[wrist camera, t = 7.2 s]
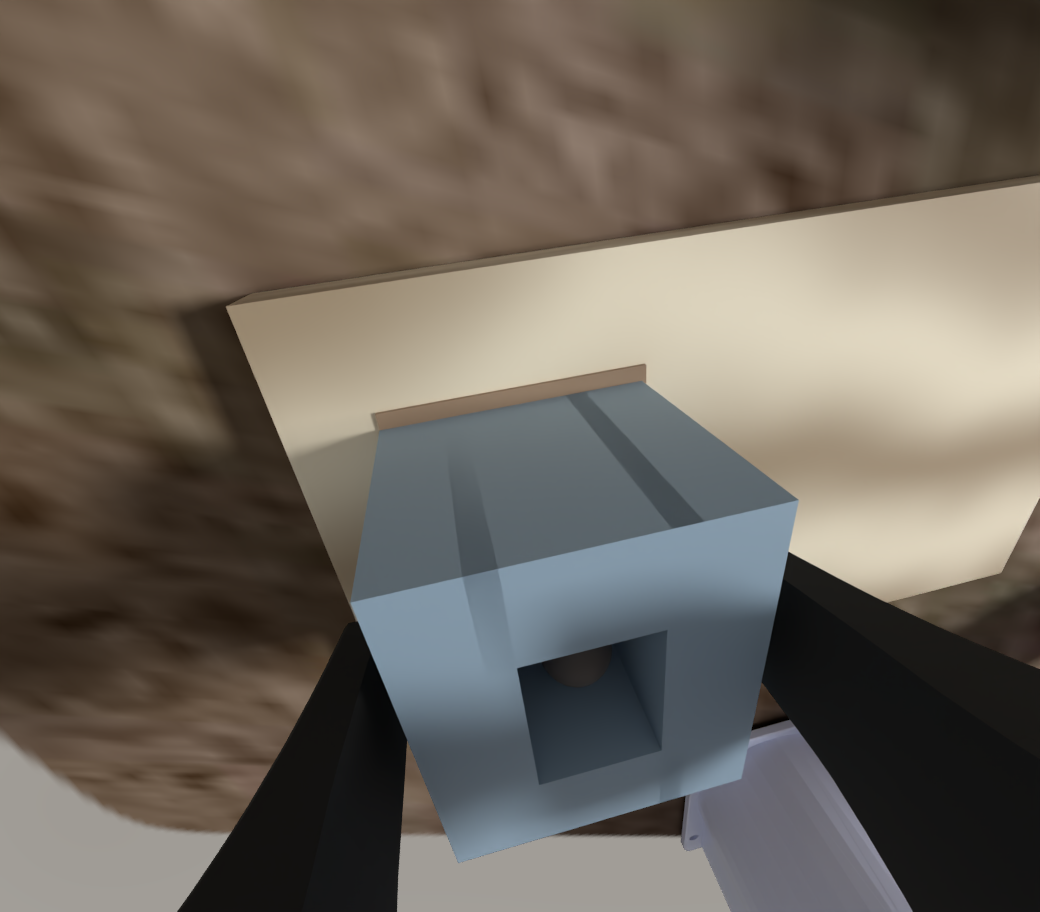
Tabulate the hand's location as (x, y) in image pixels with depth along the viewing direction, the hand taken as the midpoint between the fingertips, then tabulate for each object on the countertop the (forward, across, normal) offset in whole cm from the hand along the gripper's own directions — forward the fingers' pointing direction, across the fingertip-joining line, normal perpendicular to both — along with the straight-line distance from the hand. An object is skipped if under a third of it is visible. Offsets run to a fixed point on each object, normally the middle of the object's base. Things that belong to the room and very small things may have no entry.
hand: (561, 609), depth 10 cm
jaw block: (+3, 0, 0) cm, 3 cm away
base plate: (+4, -6, 0) cm, 7 cm away
